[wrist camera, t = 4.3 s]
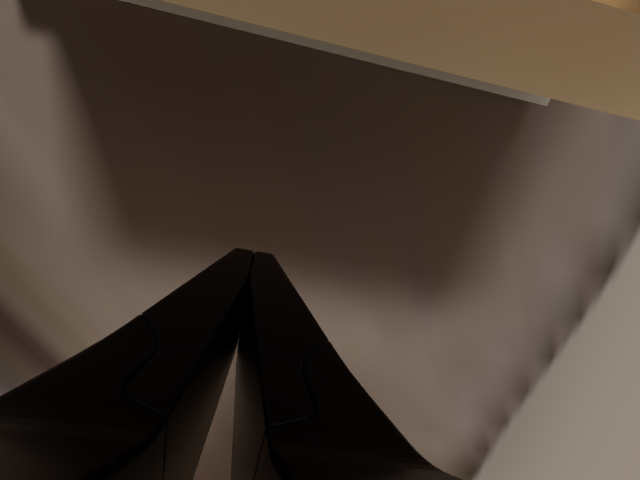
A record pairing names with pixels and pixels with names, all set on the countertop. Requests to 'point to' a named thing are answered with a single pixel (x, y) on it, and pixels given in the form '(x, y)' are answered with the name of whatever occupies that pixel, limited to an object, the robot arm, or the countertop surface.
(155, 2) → the track and backstop
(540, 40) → the socket block
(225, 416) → the countertop surface
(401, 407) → the countertop surface
